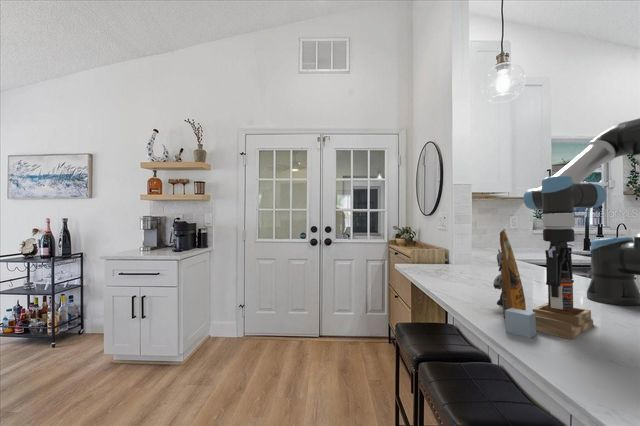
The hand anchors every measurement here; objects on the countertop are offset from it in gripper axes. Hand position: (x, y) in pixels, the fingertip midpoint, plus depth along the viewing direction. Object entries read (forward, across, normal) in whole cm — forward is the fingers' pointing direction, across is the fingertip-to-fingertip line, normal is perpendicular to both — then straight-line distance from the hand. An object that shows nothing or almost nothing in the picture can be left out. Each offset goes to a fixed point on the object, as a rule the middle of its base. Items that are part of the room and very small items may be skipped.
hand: (560, 306), depth 95 cm
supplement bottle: (+1, 0, 0) cm, 1 cm away
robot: (+5, -11, -20) cm, 24 cm away
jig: (+5, +3, 0) cm, 6 cm away
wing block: (+5, +17, -4) cm, 19 cm away
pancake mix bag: (+5, +2, -13) cm, 14 cm away
